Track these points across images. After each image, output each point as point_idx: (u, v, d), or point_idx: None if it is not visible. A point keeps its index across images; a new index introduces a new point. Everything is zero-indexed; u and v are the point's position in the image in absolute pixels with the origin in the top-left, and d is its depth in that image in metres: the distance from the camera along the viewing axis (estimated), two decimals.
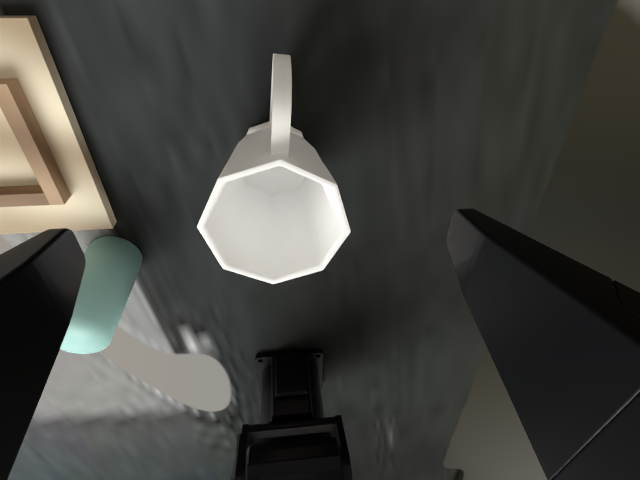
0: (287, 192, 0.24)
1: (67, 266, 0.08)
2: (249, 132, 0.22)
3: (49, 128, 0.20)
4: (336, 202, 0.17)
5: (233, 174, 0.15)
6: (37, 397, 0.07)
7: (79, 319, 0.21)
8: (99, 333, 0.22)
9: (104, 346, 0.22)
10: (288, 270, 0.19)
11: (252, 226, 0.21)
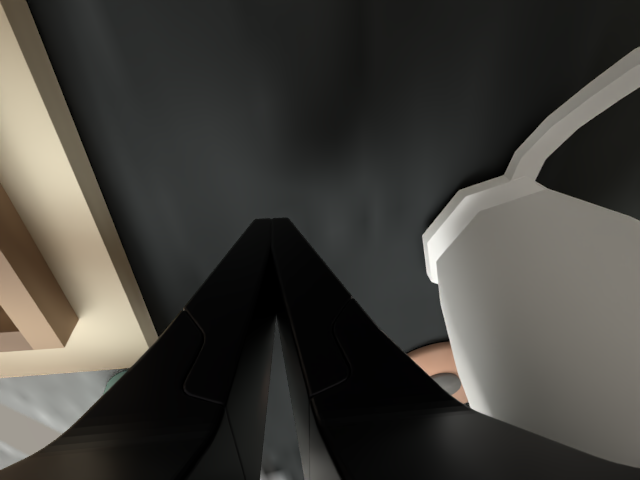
0: None
1: None
2: (464, 200, 0.10)
3: (30, 197, 0.09)
4: None
5: None
6: (269, 377, 0.08)
7: None
8: None
9: None
10: None
11: None
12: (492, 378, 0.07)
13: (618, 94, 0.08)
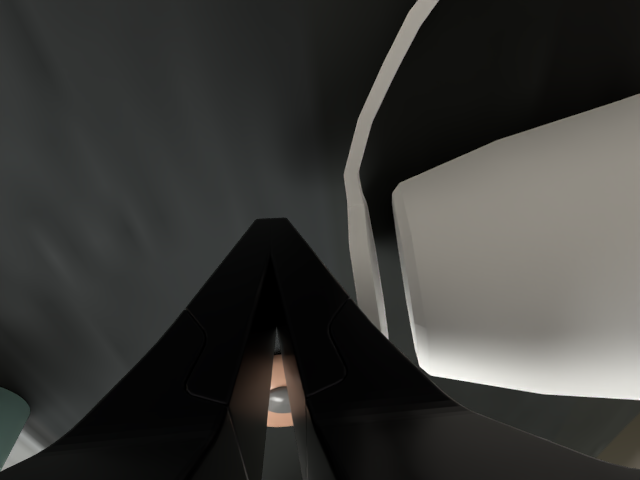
0: None
1: None
2: (368, 249, 0.07)
3: None
4: None
5: None
6: (271, 377, 0.08)
7: None
8: None
9: None
10: None
11: None
12: None
13: None
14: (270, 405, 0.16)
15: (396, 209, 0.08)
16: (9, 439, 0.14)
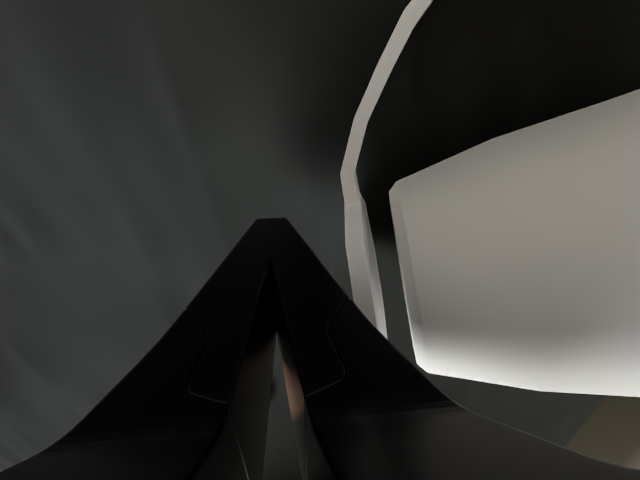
0: None
1: None
2: (364, 247, 0.07)
3: None
4: None
5: None
6: (271, 377, 0.08)
7: None
8: None
9: None
10: None
11: None
12: None
13: None
14: None
15: (392, 208, 0.08)
16: None
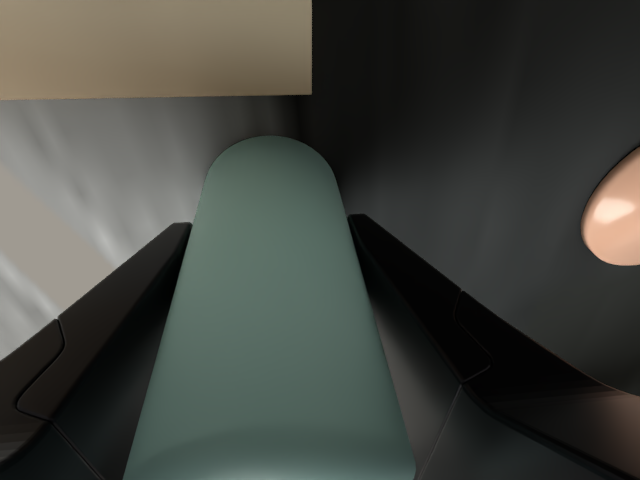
0: None
1: None
2: None
3: None
4: None
5: None
6: None
7: (326, 443, 0.04)
8: None
9: None
10: None
11: None
12: None
13: None
14: None
15: None
16: None
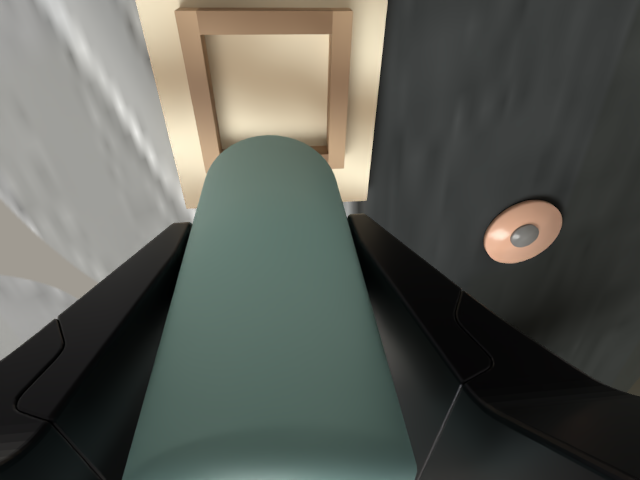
0: None
1: None
2: None
3: (355, 74, 0.17)
4: None
5: None
6: None
7: (327, 446, 0.04)
8: None
9: None
10: None
11: None
12: None
13: None
14: (515, 239, 0.25)
15: None
16: None
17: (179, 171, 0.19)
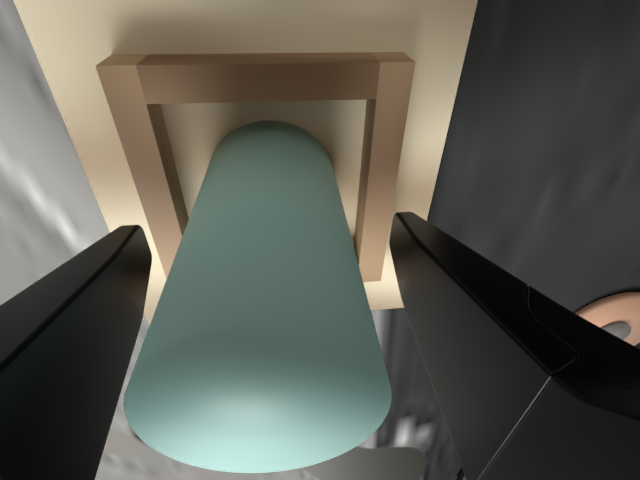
0: None
1: (140, 262, 0.08)
2: None
3: (404, 150, 0.11)
4: None
5: None
6: (119, 390, 0.07)
7: (306, 354, 0.05)
8: (351, 408, 0.05)
9: (339, 450, 0.06)
10: None
11: None
12: None
13: None
14: None
15: None
16: None
17: None
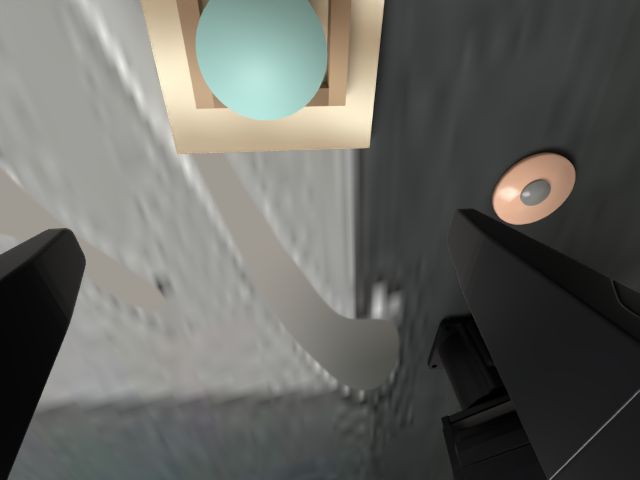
0: None
1: (67, 266, 0.08)
2: None
3: None
4: None
5: None
6: (37, 397, 0.07)
7: (282, 3, 0.10)
8: (307, 56, 0.10)
9: (304, 101, 0.11)
10: None
11: None
12: None
13: None
14: (525, 196, 0.23)
15: None
16: None
17: (168, 109, 0.18)
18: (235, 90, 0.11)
